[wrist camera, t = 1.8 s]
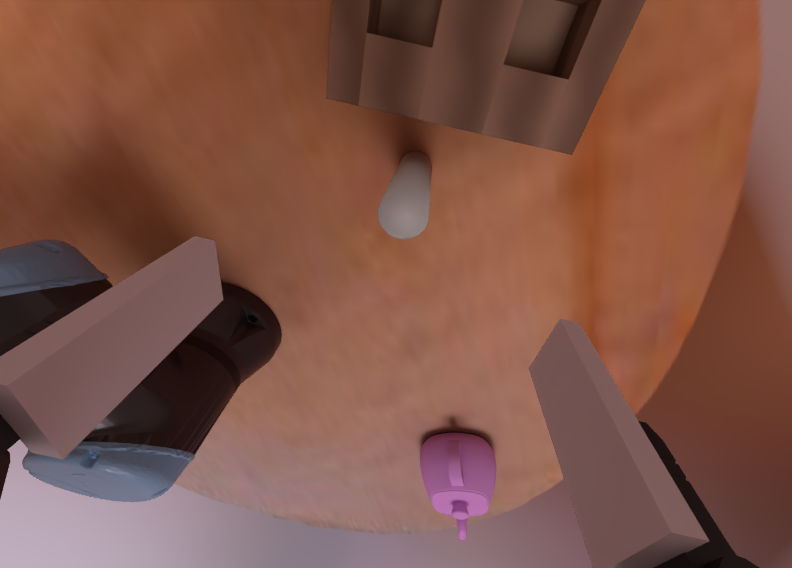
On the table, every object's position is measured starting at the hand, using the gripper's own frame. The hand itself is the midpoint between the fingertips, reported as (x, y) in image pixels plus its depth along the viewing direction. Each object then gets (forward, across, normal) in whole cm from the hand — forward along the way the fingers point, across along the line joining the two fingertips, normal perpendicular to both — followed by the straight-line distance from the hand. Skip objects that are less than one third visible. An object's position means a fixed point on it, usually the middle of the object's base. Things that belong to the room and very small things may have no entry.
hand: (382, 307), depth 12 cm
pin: (+24, 0, 0) cm, 24 cm away
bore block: (+24, +2, +12) cm, 27 cm away
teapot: (+24, +19, -48) cm, 57 cm away
